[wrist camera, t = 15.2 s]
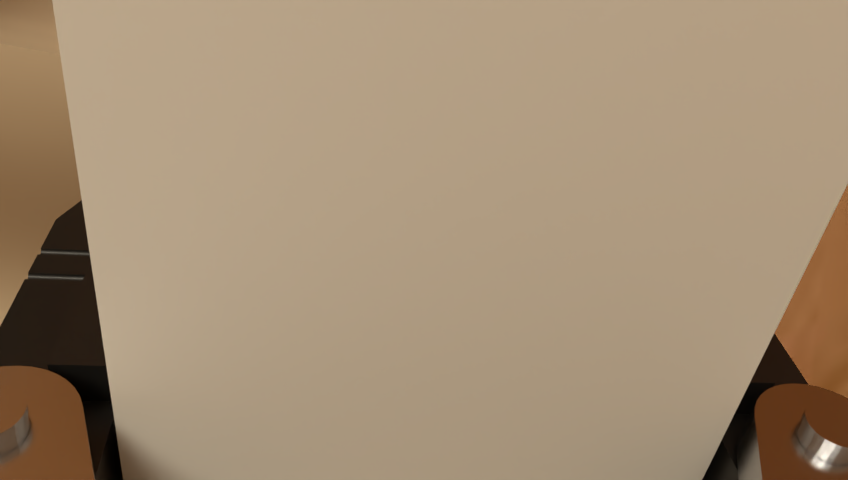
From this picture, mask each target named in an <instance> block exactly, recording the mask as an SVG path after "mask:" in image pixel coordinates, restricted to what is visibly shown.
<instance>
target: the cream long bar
mask: <svg viewBox="0 0 848 480" xmlns="http://www.w3.org/2000/svg"><path fill="white" fill-rule="evenodd" d="M81 200H82V199H81V192H80V185H79V178H78V172H77V165H76V158H75V151H74V145H73V138H72V131H71V124H70V118H69V111H68V104H67V97H66V91H65V84H64V77H63V70H62V64H61V57H60V50H59V43H58V37H57V30H56V23H55V16H54V10H53V3H52V0H0V326H1V324H2V322H3V320H4V318H5V316H6V314H7V312H8V310H9V308H10V306H11V305H12V303H13V301H14V299H15V297H16V295H17V293H18V291H19V289H20V287H21V285H22V283H23V281H24V280H25V279H28V272H29V270H30V268H31V266H32V264H33V262H34V260H35V258H36V256H37V255H38V254H41V247H42V245H43V243H44V241H45V239H46V237H47V235H48V233H49V231H50V230H51V228H52V226H53V224H54V222H55V220H56V219H57V218H58V217H60V216H61V215H62V214H64V213H65V212H66V211H68V210H69V209H70V208H72V207H73V206H74V205H76V204H77V203H78V202H80V201H81Z"/></svg>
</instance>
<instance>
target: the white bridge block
mask: <svg viewBox="0 0 848 480" xmlns="http://www.w3.org/2000/svg"><path fill="white" fill-rule="evenodd" d="M52 3H53V10H54V16H55V23H56V30H57V37H58V43H59V50H60V57H61V64H62V70H63V77H64V84H65V91H66V97H67V104H68V111H69V118H70V124H71V131H72V138H73V145H74V151H75V158H76V165H77V172H78V178H79V185H80V192H81V199H82V205H83V212H84V219H85V226H86V232H87V239H88V246H89V252H90V259H91V266H92V273H93V279H94V286H95V293H96V300H97V306H98V313H99V320H100V327H101V333H102V340H103V347H104V354H105V360H106V367H107V374H108V381H109V387H110V394H111V401H112V408H113V414H114V421H115V428H116V435H117V441H118V448H119V455H120V462H121V468H122V475H123V480H702V479H703V477H704V475H705V473H706V471H707V469H708V467H709V465H710V463H711V461H712V459H713V457H714V455H715V453H716V451H717V449H718V447H719V445H720V442H721V440H722V438H723V436H724V434H725V432H726V430H727V428H728V426H729V424H730V422H731V420H732V418H733V416H734V414H735V412H736V410H737V408H738V406H739V404H740V402H741V400H742V398H743V396H744V394H745V392H746V390H747V388H748V386H749V384H750V382H751V379H752V377H753V375H754V373H755V371H756V369H757V367H758V365H759V363H760V361H761V359H762V357H763V355H764V353H765V351H766V349H767V347H768V345H769V343H770V341H771V339H772V337H773V335H774V333H775V331H776V329H777V327H778V325H779V323H780V321H781V318H782V316H783V314H784V312H785V310H786V308H787V306H788V304H789V302H790V300H791V298H792V296H793V294H794V292H795V290H796V288H797V286H798V284H799V282H800V280H801V278H802V276H803V274H804V272H805V270H806V268H807V266H808V264H809V262H810V260H811V258H812V255H813V253H814V251H815V249H816V247H817V245H818V243H819V241H820V239H821V237H822V235H823V233H824V231H825V229H826V227H827V225H828V223H829V221H830V219H831V217H832V215H833V213H834V211H835V209H836V207H837V205H838V203H839V201H840V199H841V197H842V194H843V192H844V190H845V188H846V186H847V184H848V0H52Z"/></svg>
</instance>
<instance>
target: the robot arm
mask: <svg viewBox="0 0 848 480" xmlns="http://www.w3.org/2000/svg"><path fill="white" fill-rule="evenodd" d="M0 480H123V475H122V468H121V462H120V455H119V448H118V441H117V435H116V428H115V421H114V414H113V408H112V401H111V394H110V387H109V381H108V374H107V367H106V360H105V354H104V347H103V340H102V333H101V327H100V320H99V313H98V306H97V300H96V293H95V286H94V279H93V273H92V266H91V259H90V252H89V246H88V239H87V232H86V226H85V219H84V212H83V205H82V200H81V201H80V202H78V203H77V204H76V205H74V206H73V207H72V208H70V209H69V210H68V211H66V212H65V213H64V214H62V215H61V216H60V217H58V218H57V219H56V220H55V222H54V224H53V226H52V228H51V230H50V231H49V233H48V235H47V237H46V239H45V241H44V243H43V245H42V247H41V254H38V255H37V256H36V258H35V260H34V262H33V264H32V266H31V268H30V270H29V272H28V279H25V280H24V281H23V283H22V285H21V287H20V289H19V291H18V293H17V295H16V297H15V299H14V301H13V303H12V305H11V306H10V308H9V310H8V312H7V314H6V316H5V318H4V320H3V322H2V324H1V326H0ZM702 480H848V398H846V397H844V396H842V395H840V394H838V393H835V392H833V391H830V390H827V389H824V388H821V387H817V386H812V385H808V383H807V382H806V380H805V379H804V377H803V376H802V374H801V373H800V371H799V370H798V368H797V367H796V365H795V364H794V362H793V361H792V359H791V358H790V356H789V355H788V353H787V352H786V350H785V349H784V347H783V346H782V344H781V343H780V341H779V340H778V338H777V337H776V335H775V334H774V335H773V337H772V339H771V341H770V343H769V345H768V347H767V349H766V351H765V353H764V355H763V357H762V359H761V361H760V363H759V365H758V367H757V369H756V371H755V373H754V375H753V377H752V379H751V382H750V384H749V386H748V388H747V390H746V392H745V394H744V396H743V398H742V400H741V402H740V404H739V406H738V408H737V410H736V412H735V414H734V416H733V418H732V420H731V422H730V424H729V426H728V428H727V430H726V432H725V434H724V436H723V438H722V440H721V442H720V445H719V447H718V449H717V451H716V453H715V455H714V457H713V459H712V461H711V463H710V465H709V467H708V469H707V471H706V473H705V475H704V477H703V479H702Z"/></svg>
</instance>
